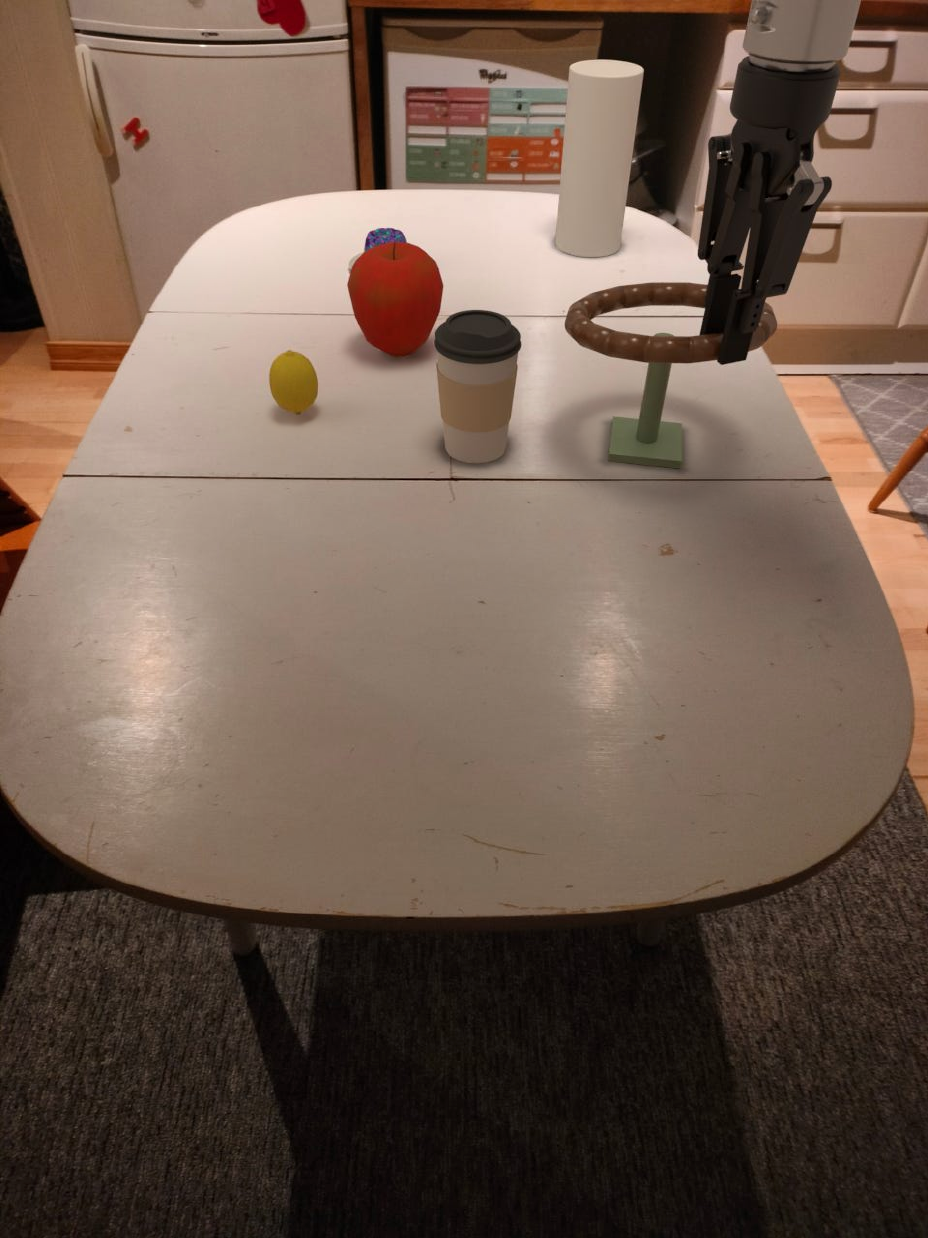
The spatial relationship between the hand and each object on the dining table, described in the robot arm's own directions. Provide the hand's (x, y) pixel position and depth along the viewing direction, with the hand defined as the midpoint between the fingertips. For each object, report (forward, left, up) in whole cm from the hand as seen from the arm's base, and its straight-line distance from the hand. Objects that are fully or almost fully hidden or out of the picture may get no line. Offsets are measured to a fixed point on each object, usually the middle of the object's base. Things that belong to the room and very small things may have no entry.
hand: (721, 352), depth 80 cm
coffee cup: (+24, -4, -16) cm, 29 cm away
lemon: (+46, -7, -16) cm, 49 cm away
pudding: (+46, -51, -16) cm, 70 cm away
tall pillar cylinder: (+16, -67, -16) cm, 70 cm away
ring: (+5, -8, -1) cm, 9 cm away
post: (+5, -8, -16) cm, 18 cm away
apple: (+38, -25, -16) cm, 48 cm away
